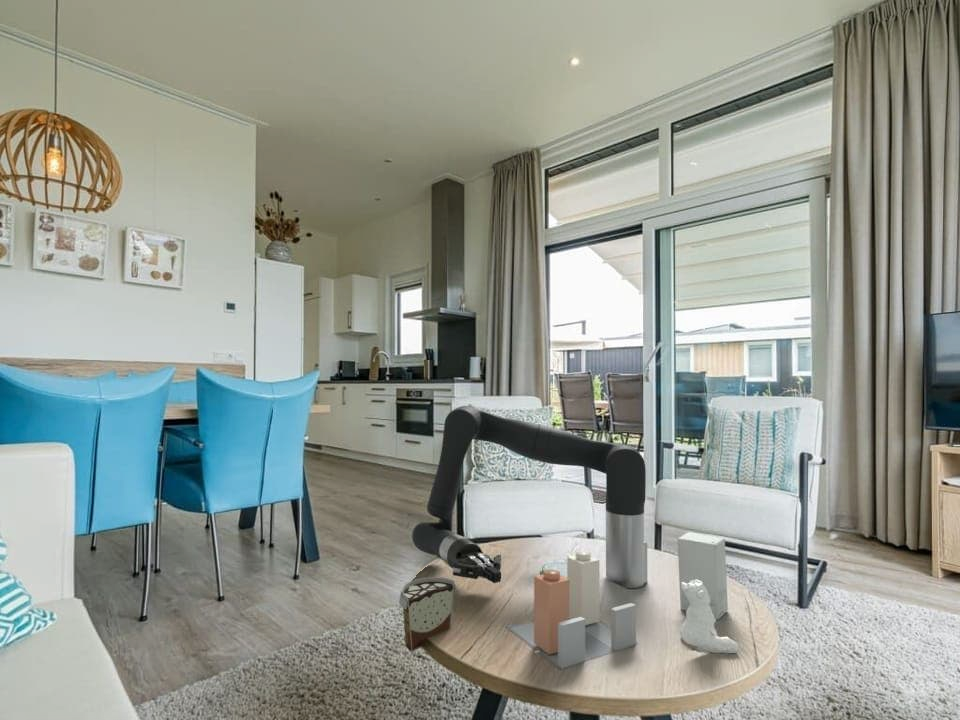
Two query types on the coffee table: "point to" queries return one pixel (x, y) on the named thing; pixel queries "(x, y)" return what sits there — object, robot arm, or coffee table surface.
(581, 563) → the cream plug
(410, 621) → the food container
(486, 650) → the coffee table surface
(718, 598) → the skincare box
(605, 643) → the grey holder stand
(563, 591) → the terracotta plug
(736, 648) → the sitting furry creature
